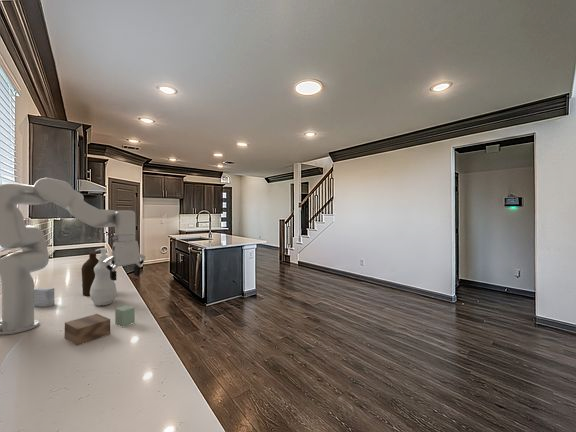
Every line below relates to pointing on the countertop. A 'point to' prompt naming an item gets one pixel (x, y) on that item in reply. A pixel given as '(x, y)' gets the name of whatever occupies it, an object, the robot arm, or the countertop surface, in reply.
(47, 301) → the medicine box
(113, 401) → the countertop surface
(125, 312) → the sage block
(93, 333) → the walnut riser
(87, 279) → the olive oil
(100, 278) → the white vase
